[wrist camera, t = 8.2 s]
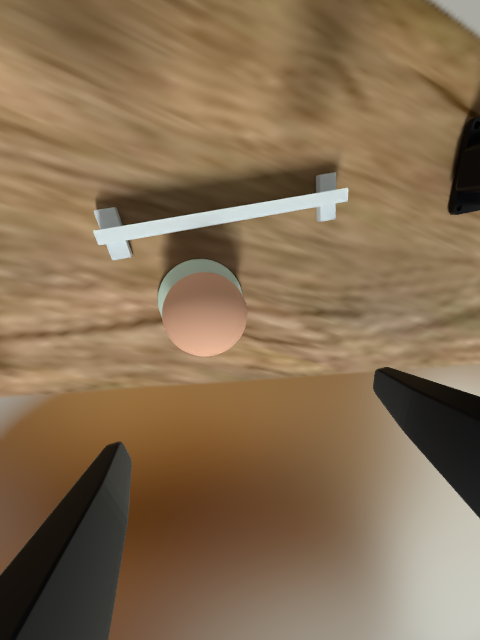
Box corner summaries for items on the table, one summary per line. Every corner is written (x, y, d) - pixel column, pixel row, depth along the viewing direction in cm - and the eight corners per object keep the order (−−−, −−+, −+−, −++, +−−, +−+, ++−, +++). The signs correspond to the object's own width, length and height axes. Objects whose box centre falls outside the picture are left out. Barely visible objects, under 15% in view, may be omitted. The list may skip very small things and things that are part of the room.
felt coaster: (234, 251, 17) (235, 251, 17) (246, 327, 20) (247, 328, 20) (146, 268, 17) (146, 269, 16) (171, 345, 19) (171, 347, 19)
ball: (230, 258, 17) (251, 273, 12) (241, 324, 20) (262, 359, 15) (154, 273, 16) (144, 296, 12) (175, 341, 19) (174, 384, 14)
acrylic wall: (331, 173, 17) (349, 168, 15) (330, 218, 18) (347, 218, 16) (96, 210, 15) (84, 209, 13) (114, 259, 16) (106, 264, 14)
